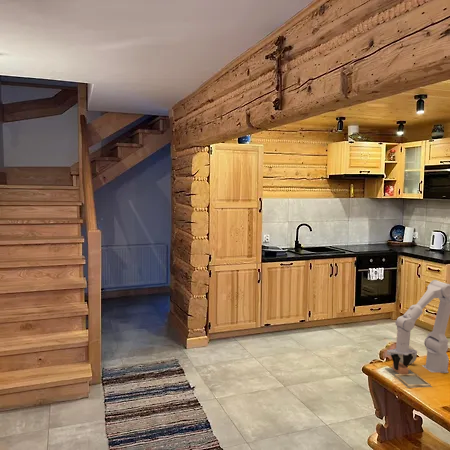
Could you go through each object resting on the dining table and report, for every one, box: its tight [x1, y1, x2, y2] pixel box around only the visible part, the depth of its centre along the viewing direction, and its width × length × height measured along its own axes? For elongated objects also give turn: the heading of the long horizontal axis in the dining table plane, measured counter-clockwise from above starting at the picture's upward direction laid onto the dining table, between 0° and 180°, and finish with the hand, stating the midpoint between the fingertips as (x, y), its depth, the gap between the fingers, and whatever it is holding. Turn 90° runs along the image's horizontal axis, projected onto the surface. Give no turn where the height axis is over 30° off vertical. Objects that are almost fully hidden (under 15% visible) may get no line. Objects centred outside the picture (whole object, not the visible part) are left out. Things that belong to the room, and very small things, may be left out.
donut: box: [398, 345, 418, 365], centre depth 219 cm, size 10×4×10 cm, turn 66°
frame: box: [394, 373, 432, 388], centre depth 199 cm, size 11×11×1 cm
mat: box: [384, 367, 433, 389], centre depth 203 cm, size 12×20×1 cm, turn 9°
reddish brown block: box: [391, 362, 410, 374], centre depth 208 cm, size 7×4×3 cm, turn 9°
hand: (400, 369), depth 208 cm, fingers closed on reddish brown block, 4 cm apart
